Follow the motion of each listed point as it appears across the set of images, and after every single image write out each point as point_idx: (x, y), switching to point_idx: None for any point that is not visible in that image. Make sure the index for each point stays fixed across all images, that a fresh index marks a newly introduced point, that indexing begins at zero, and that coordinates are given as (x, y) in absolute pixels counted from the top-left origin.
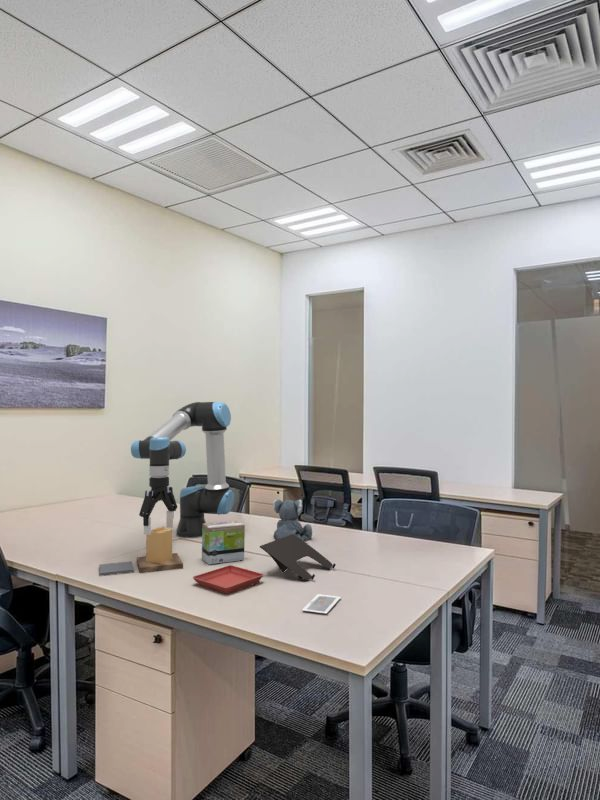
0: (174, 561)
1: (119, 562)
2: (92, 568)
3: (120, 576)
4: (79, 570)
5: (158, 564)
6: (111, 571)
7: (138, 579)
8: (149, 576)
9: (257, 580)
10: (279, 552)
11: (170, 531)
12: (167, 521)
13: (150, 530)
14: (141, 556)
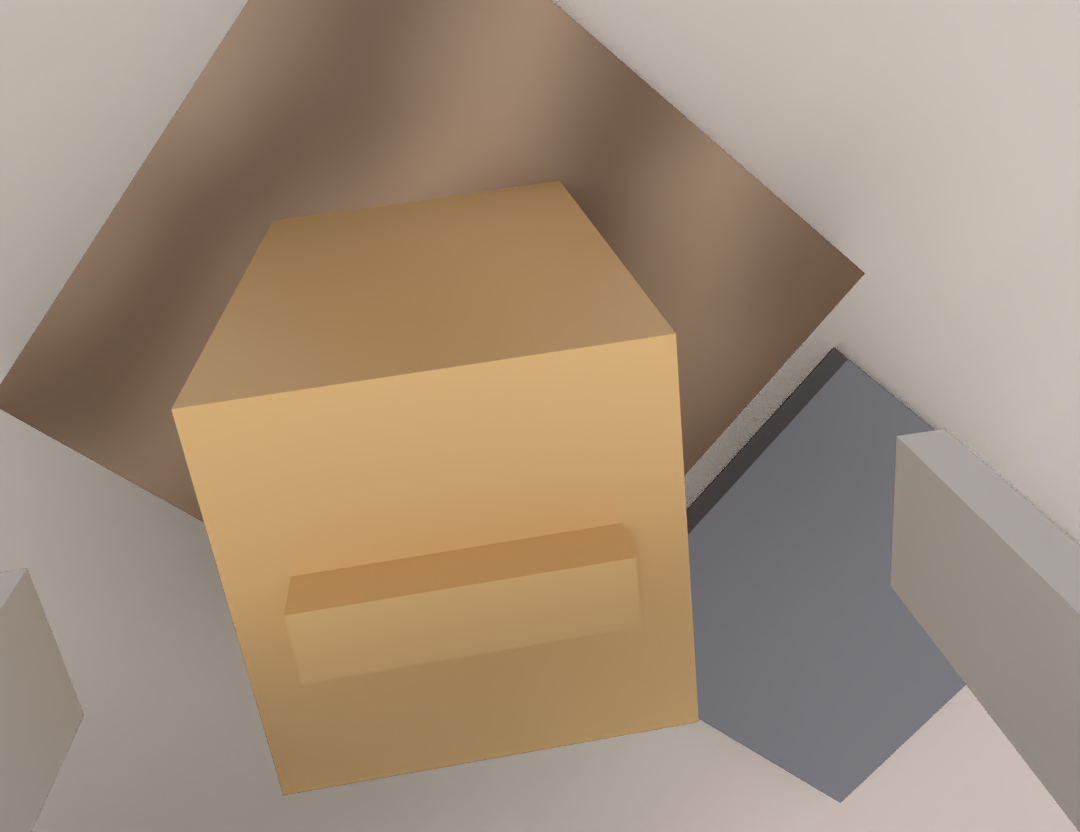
0: (364, 63)
1: None
2: (889, 794)
3: (1018, 353)
4: (985, 827)
5: (622, 166)
6: None
7: (1050, 59)
8: (895, 26)
9: None
10: None
11: (254, 383)
12: (15, 811)
13: (961, 479)
14: None
